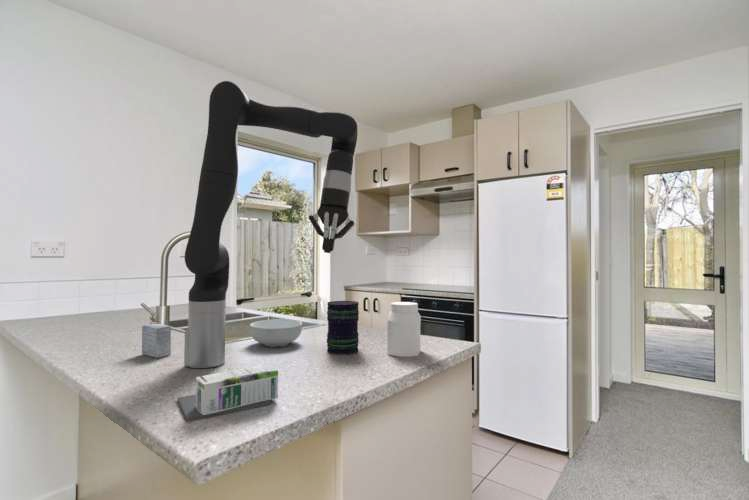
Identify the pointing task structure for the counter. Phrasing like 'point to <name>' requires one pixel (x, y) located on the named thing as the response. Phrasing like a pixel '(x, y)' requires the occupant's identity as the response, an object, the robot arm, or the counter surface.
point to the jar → (404, 330)
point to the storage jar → (342, 327)
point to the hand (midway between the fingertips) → (327, 252)
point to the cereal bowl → (275, 331)
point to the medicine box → (156, 340)
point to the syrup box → (235, 389)
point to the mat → (193, 414)
